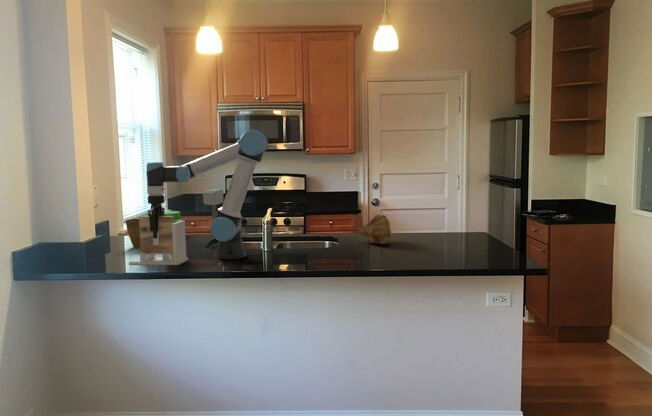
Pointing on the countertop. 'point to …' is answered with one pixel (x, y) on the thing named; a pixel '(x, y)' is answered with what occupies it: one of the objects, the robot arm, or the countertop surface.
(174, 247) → the cabinet base
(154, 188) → the robot arm
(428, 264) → the countertop surface
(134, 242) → the plant pot
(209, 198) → the hammer
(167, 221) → the maple door
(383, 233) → the rough brown rock
